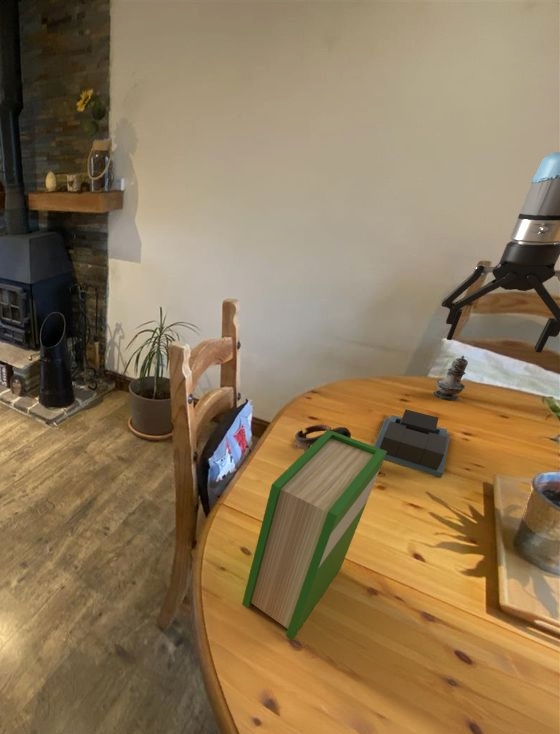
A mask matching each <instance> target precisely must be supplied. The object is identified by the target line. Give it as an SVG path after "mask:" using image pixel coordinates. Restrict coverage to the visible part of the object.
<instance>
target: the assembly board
mask: <svg viewBox="0 0 560 734" xmlns="http://www.w3.org/2000/svg"><path fill="white" fill-rule="evenodd" d="M402 417H403V416H397V415H394V414H391V415H390V417H385V419H384V421H383V424H382V426H381V429H380V431H379V433H378V436H377V438H376V441H375V443H374V445H373V446H374V447H377V448H380V449H382V450H385V451H387V453H386V455H385V458H384V460H383V461H386V462H387V461H388V462H389V463H393V464H395V465H400V466H402V467H404V468H405V467H406V468H409V469H412V470H415V471H419V472H422V473H424V474H427V475H430V476H434V477H437V478H441V479H442V477H443V475H444V471H445V465H446V460H447V454H448V448H449V443H450V436H451V434H450V433H448V429H447V428H443V427H439V426H437V427H436V431H435V434H434V433H431V432H429V434H425V433H421V432H418V431H414V430H410V429H407V428H406V426H405V425H401V424H400V422H401V419H402Z"/></svg>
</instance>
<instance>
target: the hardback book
mask: <svg viewBox="0 0 560 734" xmlns="http://www.w3.org/2000/svg"><path fill="white" fill-rule="evenodd" d="M323 433H324V434H323ZM323 433H322V434H323V435H322V436H321V437H320V438H319V439H318V440H317V441H316V442H315V443H314V444H313V445H311V446H310V447H309V448H308V449H307V450H306V451H304V452H303V453H302V454H301V455H300V456H299V457H298V458H297V459H296V460H295V461H294V462H293V463H292V464H291V465H290V466H289V467H288V468H287V469H286V470H284V472H283V473H282V474H281V475H279V477H277V479H275V480H274V481H273V483H272V484H271V487H270V490H269V495H268V498H267V503H266V506H265V509H264V510H265V511H264V515H263V519H262V522H261V526H260V530H259V535H258V539H257V542H256V547H255V551H254V555H253V558H252V563H251V567H250V571H249V574H248V579H247V583H246V587H245V590H244V596H243V599H242V604H241V605H243V606H244V607H245V608H246V609H249V608H250V606H252V605H254V607H256V608H257V609H258V610H260V611H262V612H263V613H264V614H266V615H267V616H269V618H271V619H273V620H274V621H276V622H277V623H278V624H280V625H281V626H283V627H284V628H285V629H287V630H286V633H285V636H286V637H287V638H289V640H291V641H293V640H294V639H295V637H296V636H297V634H298V633H299V631H300V630H301V629H302V627H303V625H304V624H305V622H306V621H307V619H308V618H309V616H310V615H311V613H312V612H313V610H314V609H315V608H316V606H317V605H318V603H319V602H320V600H321V599H322V597H323V596H324V594H325V592H326V591H327V590H328V588H329V587H330V585H331V584H332V582H333V581H334V579H335V578H336V576H337V575H338V573H339V572H340V571H341V569H342V567H343V564H344V561H345V559H346V556H347V553H348V551H349V548H350V546H351V544H352V541H353V539H354V536H355V533H356V530H357V528H358V525H359V523H360V522H361V521H360V520H361V519H362V516H363V513H364V511H365V508H366V506H367V503H368V501H369V498H370V496H371V493H372V490H373V488H374V486H375V483H376V480H377V478H378V476H379V473H380V470H381V468H382V465H383V463H384V461H385V460H384V458H385V455H386V453H387V451H385V450H382V449H380V448H377V447H374V445H372V444H368V443H366V442H362V441H360V440H357V439H354V438H352V437H351V438H349V437H346V436H344V435H341V434H338V433H335V432H333V431H330V430H327V431H324V432H323Z"/></svg>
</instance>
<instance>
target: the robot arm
mask: <svg viewBox="0 0 560 734" xmlns="http://www.w3.org/2000/svg"><path fill="white" fill-rule="evenodd" d="M530 183H531V184H530V186H529V188H528V191H527V193H526V195H525V199H524V201H523V204H522V207H521V208H520V212H519V213H518V216H517V218H516V220H515V222H514V225H513V228H512V229H511V233H510V235H509V239H510V240H511V241H509V242H507V243H506V245H505V248H504V249H503V253H502V256H501V257H500V260H499V262H498V264H496V266H492V265H491V266H490V265H485V264H484V263H478V264H476V265H475V268H474V270H473V271H472V273H471V274H470V275H469V276H467V278H466V279H464V281H463V282H461V283H460V284H459V285H458V286H457V287H456V288H454V290H452V291H451V292H450V293H449V294H448V295H447V296H445V298H443V299H442V302H441V303H440V304H441V307H443V308H447V309H448V310H449V311H448V314H447V317H446V319H445V323H446V325H450V328H449V330H448V333H447V336H446V340H447V341H452V339H453V336H454V334H455V332H456V329H457V326H458V323H459V321H460V318H461V317H462V313H463V308H464V307H465V306H468V305H470V304H472V303H473V302H474V301H476V300H478V299H480V298H481V297H483V296H486V295H488V294H489V293H491V292H494V291H496V290H497V289H499V288H502V289H504V291H505V290H506V291H514V290H517V291H520V292H528V291H531V290H534V291H535V293H536V294H537V295H538V296H539V297H540V299H541V300H542V302H543V303H544V304H545V306H546V308H547V309H548V310H549V311H550V313H551V314H552V316H554V317H548V319H547V322H546V323H545V325H544V327H543V330H542V331H541V333H540V336H539V337H538V339H537V342H536V344H535V345H534V351H535V353H538V354H539V353H540V354H541V353H542V352H543V349H544V348H545V345H546V344H547V341H548V340H549V338H550V337H553V338H556V337H558V335H560V306H559V304H558V302H557V301H556V300H555V299H554V297H553V296H552V295H551V293H550V292H549V290H548V289H547V288H546V286H545V285H544V283H546V282H547V281H548V280H551V279H552V278H554V277H556V278H557V280H558V281H559V282H560V269H555V267H556V264H557V261H558V259H559V257H560V151H557V152H552V153H549V154H547V155H545V156H544V158H543V159H542V160H541V162H540V165H539V166H538V168H537V171H536V172H535V174H534V176H533V178H532V179H531V181H530ZM489 273H490V274H491V273H492V275H493V277H494V279H492V280H491V281H489V282H488V283H486V284H484V285H483V286H481V287H479V288H478V289H476V290H474V291H473V292H471V293H469V294H467V295H465V296H463V297H462V298H460V299H458V297H459V296H460V297H461V295H462V294H463V293H465V292H466V291H467V290H468V289H469V288H471V286H473V285H474V284H475V283H476V281H478V280H479V278H480V277H485V276H487V274H489ZM456 299H458V300H457V301H456ZM454 301H455V302H454Z"/></svg>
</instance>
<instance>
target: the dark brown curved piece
mask: <svg viewBox="0 0 560 734" xmlns="http://www.w3.org/2000/svg"><path fill="white" fill-rule="evenodd" d="M304 429H305V431H303V430H298V431H297V432H296V433H295V442H294V443H295V444H294V445H295V447H296V448H298V449H301V450H303V451H304V452H305V451H306V450H307V449H308V448H309V447H311V446H312V445H313V444H314V443H315V442H316V441H317V440H318V439H319V438H320V437H321V436H322V435H323V434H324V433H325V432H326V431H327V430H330V431H333V432H335V433H338V434H341V435H344V436H346V437H349V438H352V433H351V431H350V430H349V428H347V427H344V426H339V427H335V428H333V429H332V427H331V426H330V425H328V424H323V423H322V424H314V425H310V426H306V427H305V428H304ZM317 432H323V433H321V434H319V435H316V436H313V437H307V436H308V435H310V434H313V433H317Z"/></svg>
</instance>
